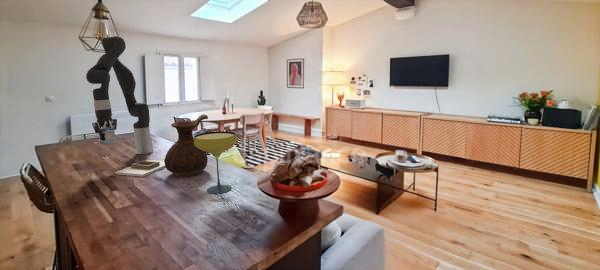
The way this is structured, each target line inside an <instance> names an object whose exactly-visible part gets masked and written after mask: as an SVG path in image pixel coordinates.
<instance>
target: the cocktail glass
mask: <svg viewBox="0 0 600 270" xmlns="http://www.w3.org/2000/svg"><path fill="white" fill-rule="evenodd" d="M193 138H194V145H195V146H196V147H197V148H199V149H200V150H203V151H205V152H206V153H208V154H211V155H212V157H214V158H215V160H216V162H215V163H216V173H217V174H216V175H217V183H216V185H212V186H210V187H208V188H207V189H206V192H207V193H208V194H210V195H211V194H212V195H220V194H225V193H228V192H230V191H231V190H232V186H231V185H229V184H228V185H227V184H221V181H220V172H219V159H218V158H220V157H221V155H222V154H223V153H224V152H225V151H227V150H229V149H231V148H232V147H233V146H235V144H236V143H237V138H238V137H237V133H235V132H233V131H225V130H224V131H223V130H222V131H220V130H219V131H207V132H201V133H198V134H195V135H194V136H193Z"/></svg>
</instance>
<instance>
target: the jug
mask: <svg viewBox="0 0 600 270" xmlns="http://www.w3.org/2000/svg"><path fill="white" fill-rule="evenodd" d="M208 119H209V116H208V115H207V114H201V115H199V116H198V117H197V118H196V119H195V120H194V121H192V120H191V121H190V120H183V121H182V120H181V121H175V122H173V123H171V124H170V125H171V127H172V128H173V129H176V130H177V134H178V137H177V141H175V143H173V144H172V145H171V146H170V147H169V149H168V151H167V152H166V153H165V157H164V159H163V161H164V163H165V168H166V170H167V171H168V172H170V173H172V174H173V175H174V176H177V177H180V178H181V177H190V176H191V177H192V176H196V175H198V174H200V172H202V171H204V170H205V169H206V167H207V166H208V159H209V158H208V155H207V152H205V151H203V150H200V149H199V148H197V147H196V146H195V145H194V136H193V131H194V129H196V127H198V126H199V125H200V123H201V122H202V121H204V120H208Z"/></svg>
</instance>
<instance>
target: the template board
mask: <svg viewBox="0 0 600 270" xmlns="http://www.w3.org/2000/svg"><path fill="white" fill-rule="evenodd" d="M164 168H166V167H165V163H164V160H154V159H147V160H140V161H139V160H138V161H137V162H134V163H131V164H130V166H128V167H124V168H122V169H120V170H117V171H115V172H114V173H115V175H120V176H128V177H129V176H132V177H146V176H148V175H150V174H152V173H156V172H158V171H160V170H162V169H164Z"/></svg>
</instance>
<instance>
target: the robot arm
mask: <svg viewBox="0 0 600 270" xmlns="http://www.w3.org/2000/svg"><path fill="white" fill-rule="evenodd" d="M126 45H127V44H126V41H125V40H124V38H123V37H122V36H121V35H120V36H118V35H116V36H114V35H113V36H107V37H103V38H102V40H101V46H102V48H103V50H104V52H105V53H103V54H102V55H101V56H100V57H99V59H98V60H97V62H96V63H95V65H93V66H92V67H91V68H89V69H88V71H87V72H86V75H85V78H86V81H87V82H88V83H89V84H91V85H100V87H98V88H94V89H93V90H92V96H93V106H94V107H93V108H94V113H95V114H94V115H95V118H96V122H92V123H91V125H92V127H93V130H94V133H95V134H98V136H99V135H100V140H101V141H105V135H104V129H105V128H114V131H115V130H117V127H118V119H117V118H112V116H113V113H112V112H113V111H112V107H111V104H112V103H111V101H110V96H109V95H110V93H109V87H110V81H111V75H110V71H111V69H113V71H114V73H115V76H116V79H117V82H118V85H119V86H120V89H121V92H122V96H123V98H124V100H125V105H126V108H127V111H128V113H129V115H130V116H131V117H133V118H134V117H135V118H137V121H136V122H134V123H133V125H132V126H133V127H132V128H133V133H134V140H135V141H134V142H135V151H136V154H137V155H148V154H150V153H152V152H153V151H154V147H153V139H152V137H151V131H150V108H149V106H148V104H147V103H145V102H137V99H136V97H135V90H136V86H137V83H136V79H135V76H134V74H133V71H131V69H130V68H129V67H127V65H125V64H124V63H123V62H122V61H121V60H120V59H119V58H120V56H121V55H122V54H123V53H124V51H125V50H126V48H127V47H126ZM101 130H102V131H101ZM100 140H99V141H100Z"/></svg>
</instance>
